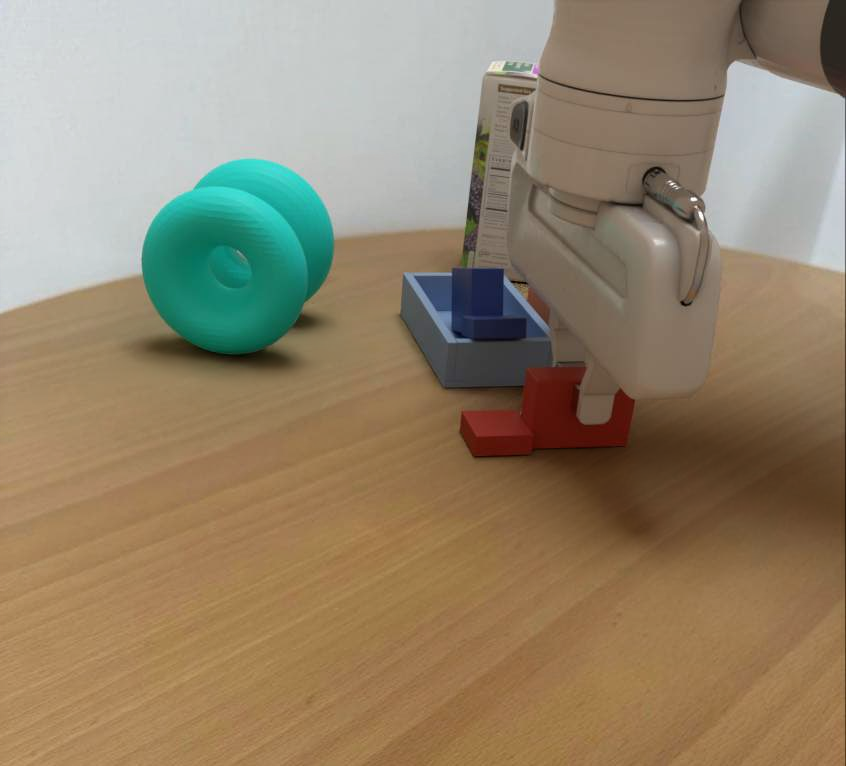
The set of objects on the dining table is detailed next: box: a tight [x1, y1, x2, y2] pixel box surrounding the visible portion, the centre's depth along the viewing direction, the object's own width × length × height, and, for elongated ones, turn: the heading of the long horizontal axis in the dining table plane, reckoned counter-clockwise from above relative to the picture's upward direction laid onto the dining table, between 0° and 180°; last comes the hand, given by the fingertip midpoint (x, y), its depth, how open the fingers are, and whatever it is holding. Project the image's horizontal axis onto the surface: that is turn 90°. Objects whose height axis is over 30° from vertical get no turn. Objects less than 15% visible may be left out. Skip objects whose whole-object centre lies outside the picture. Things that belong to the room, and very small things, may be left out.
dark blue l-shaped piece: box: [451, 267, 527, 339], centre depth 71 cm, size 9×3×4 cm, turn 10°
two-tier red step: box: [459, 366, 636, 457], centre depth 63 cm, size 9×3×4 cm, turn 103°
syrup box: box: [460, 60, 539, 283], centre depth 85 cm, size 6×6×14 cm
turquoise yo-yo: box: [141, 158, 335, 355], centre depth 71 cm, size 10×10×10 cm
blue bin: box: [399, 272, 553, 389], centre depth 74 cm, size 7×12×3 cm, turn 13°
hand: (578, 405), depth 63 cm, fingers closed on two-tier red step, 2 cm apart
